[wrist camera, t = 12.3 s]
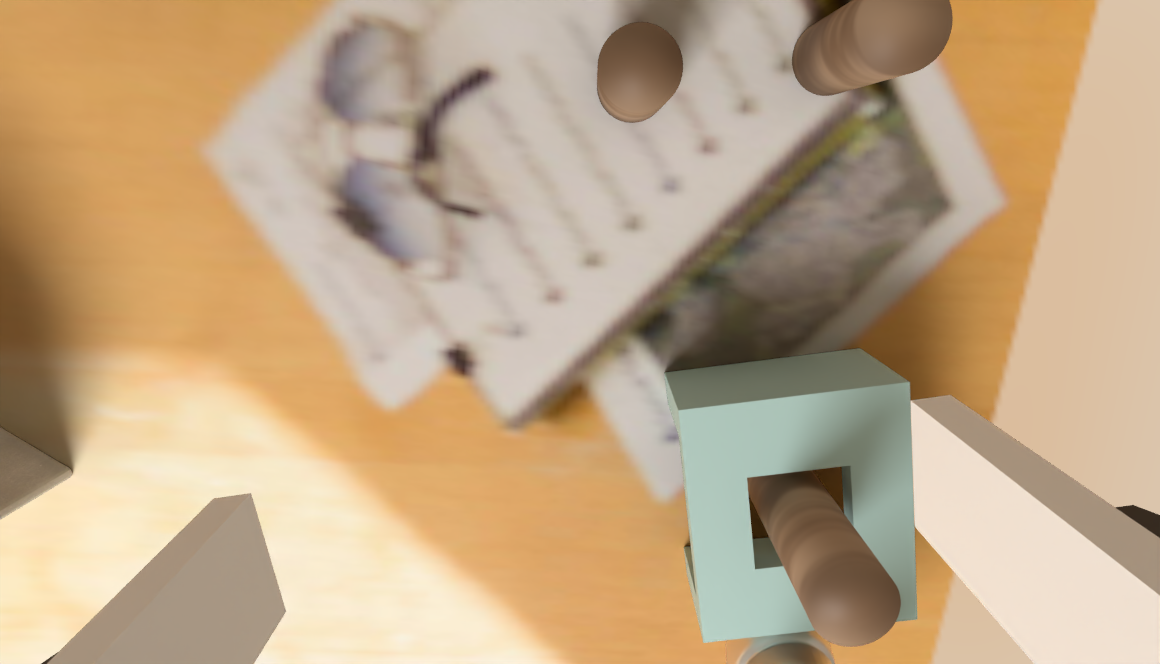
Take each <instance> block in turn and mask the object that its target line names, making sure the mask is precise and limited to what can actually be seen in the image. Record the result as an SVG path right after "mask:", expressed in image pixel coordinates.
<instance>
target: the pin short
mask: <svg viewBox="0 0 1160 664" xmlns="http://www.w3.org/2000/svg"><path fill="white" fill-rule="evenodd" d="M682 72H683V61H682V55H681V51H680V49H679V46H678V45H677V43H676V41H675V40H674V38H673V37H672V36H671V35H670V34H669V33H668V32H667V31H666V30H664V29H663V28H661V27H659V26H657V25H655V24H651V23H646V22H636V23H631V24H628V25H625V26H623V27H621V28H619V29H618V30H616V31H615V32H614V33H613V34H612V35H611V36H610V37H609V38H608V39H607V41H606V42H605V43H604V45H603V47H602V49H601V52H600V55H599V59H598V72H597V91H598V96H599V99H600V102H601V104H602V106H603V107H604V109H605V110H606V111H607V112H608V113H609V114H610V115H611V116H613V117H614V118H616V119H618V120H620V121H624V122H630V123H634V122H640V121H644V120H646V119H648V118H650V117H651V116H653V115H654V114H655V113H656V112H657V111H658V110H659V109H660V108H661V107H662V106H663V105H664V104H665V103H666V102H667V101H668V100H669V99H670V98H671V97H672V96H673V94H674V93H675V92H676V90H677V88H678V86H679V84H680V81H681V77H682Z"/></svg>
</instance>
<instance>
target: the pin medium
mask: <svg viewBox="0 0 1160 664" xmlns="http://www.w3.org/2000/svg"><path fill="white" fill-rule="evenodd" d="M951 28H952V9H951V5H950V2H949V0H852V1H851V2H849V3H847V4H846V5H844V6H843V7H841V8H839V9H838V10H836V11H834V12H833V13H831V14H830V15H828V16H826V17H825V18H823V19H821V20H820V21H818V22H817V23H815V24H813V25H812V26H810V27H809V28H808V29H806V30H805V31H804V32H803V34H802V35H801V36H800V37H799V39H798V41H797V43H796V45H795V47H794V51H793V56H792V65H793V71H794V74H795V76H796V78H797V80H798V82H799V83H800V84H801V85H802V86H803V87H804V88H805V89H806V90H808V91H809V92H811V93H814V94H816V95H822V96H829V95H834V94H838V93H842V92H845V91H849V90H852V89H856V88H859V87H863V86H867V85H870V84H874V83H877V82H881V81H884V80H888V79H891V78H895V77H899V76H902V75H906V74H909V73H913V72H916V71H918V70H920V69H922V68H924V67H926V66H927V65H929V64H930V63H931V62H933V61H934V60H935V59H936V58H937V57H938V56H939V54H940V53H941V52H942V50H943V49H944V47H945V45H946V44H947V41H948V39H949V36H950V33H951Z"/></svg>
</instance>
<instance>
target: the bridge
mask: <svg viewBox="0 0 1160 664" xmlns="http://www.w3.org/2000/svg"><path fill="white" fill-rule="evenodd" d="M665 382H666V390H667V399H668V405H669V408H670V411H671V414H672V417H673V420H674V423H675V426H676V429H677V432H678V435H679V443H680V452H681V461H682V470H683V479H684V488H685V498H686V507H687V516H688V525H689V534H690V543H691V546H688V547H684V552H685V561H686V570H687V576H688V580H689V585H690V589H691V593H692V597H693V601H694V605H695V609H696V614H697V618H698V622H699V626H700V630H701V634H702V638H703V643H706V642H715V641H724V640H733V639H742V638H751V637H760V636H770V635H779V634H788V633H797V632H806V631H815V629H814V628H813V626H812V624H811V622H810V620H809V618H808V616H807V614H806V612H805V610H804V608H803V606H802V604H801V602H800V599H799V597H798V595H797V593H796V591H795V589H794V587H793V585H792V583H791V581H790V579H789V577H788V575H787V573H786V571H785V569H784V567H783V564H782V562H781V560H780V558H779V556H778V554H777V552H776V550H775V548H774V546H773V544H772V542H771V540H770V538H769V537H767V538H758V539H752V529H751V517H750V506H749V495H748V483H747V478H749V477H758V476H766V475H774V474H783V473H791V472H800V471H808V470H817V469H825V468H834V467H842V484H843V502H844V514H845V516H846V517H847V518H848V520H849V521H850V522H851V524H852V525H853V526H854V528H855V529H856V531H857V532H858V533H859V535H860V536H861V537H862V539H863V540H864V541H865V543H866V544H867V546H868V547H869V548H870V550H871V551H872V552H873V554H874V555H875V556H876V558H877V559H878V561H879V562H880V563H881V565H882V566H883V567H884V569H885V570H886V571H887V573H888V574H889V576H890V577H891V578H892V580H893V581H894V583H895V584H896V586H897V588H898V590H899V593H900V598H901V607H900V612H899V615H898V618H897V620H896V622H897V621H907V620H916V619H917V594H916V562H915V530H914V498H913V466H912V434H911V402H910V382H909V381H908V380H906V379H905V378H903V377H902V376H900V375H899V374H897V373H896V372H894V371H893V370H891V369H890V368H889V367H887V366H886V365H884V364H883V363H881V362H880V361H878V360H877V359H875V358H874V357H872V356H871V355H869V354H868V353H866V352H865V351H864V350H862V349H861V348H857V349H849V350H841V351H833V352H825V353H817V354H809V355H801V356H793V357H785V358H777V359H769V360H761V361H753V362H745V363H737V364H729V365H721V366H713V367H705V368H697V369H689V370H681V371H673V372H665Z"/></svg>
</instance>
